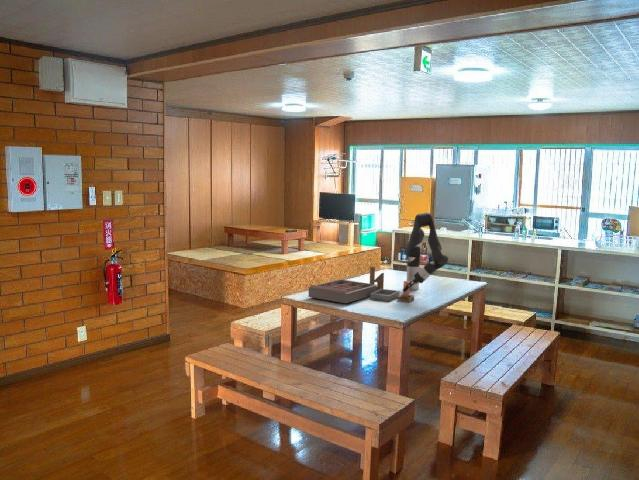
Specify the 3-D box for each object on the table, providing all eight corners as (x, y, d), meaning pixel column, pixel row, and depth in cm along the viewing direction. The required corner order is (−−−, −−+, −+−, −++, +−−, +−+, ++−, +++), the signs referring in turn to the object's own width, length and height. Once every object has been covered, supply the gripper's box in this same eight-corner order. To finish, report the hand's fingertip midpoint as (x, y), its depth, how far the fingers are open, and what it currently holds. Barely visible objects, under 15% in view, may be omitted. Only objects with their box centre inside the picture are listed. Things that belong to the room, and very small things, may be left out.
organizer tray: (377, 295, 375) (378, 282, 374) (346, 305, 343) (346, 290, 341) (340, 290, 393) (340, 276, 392) (306, 298, 361) (307, 284, 360)
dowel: (404, 299, 363) (404, 280, 362) (409, 300, 361) (410, 281, 360) (402, 300, 360) (402, 281, 358) (407, 301, 358) (408, 282, 356)
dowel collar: (401, 298, 366) (402, 294, 366) (414, 300, 362) (414, 295, 362) (397, 300, 359) (397, 296, 358) (410, 302, 355) (410, 298, 354)
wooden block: (381, 292, 385) (381, 268, 383) (368, 290, 391) (368, 266, 390) (383, 291, 388) (384, 267, 386) (370, 290, 394) (371, 265, 392)
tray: (380, 294, 379) (381, 288, 379) (399, 296, 373) (399, 290, 373) (370, 299, 362) (370, 293, 361) (389, 301, 355) (389, 296, 355)
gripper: (422, 269, 361) (405, 283, 367) (415, 271, 348) (398, 287, 355) (429, 277, 359) (412, 292, 365) (423, 280, 346) (405, 296, 353)
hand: (405, 289), depth 360 cm, fingers open, 8 cm apart
